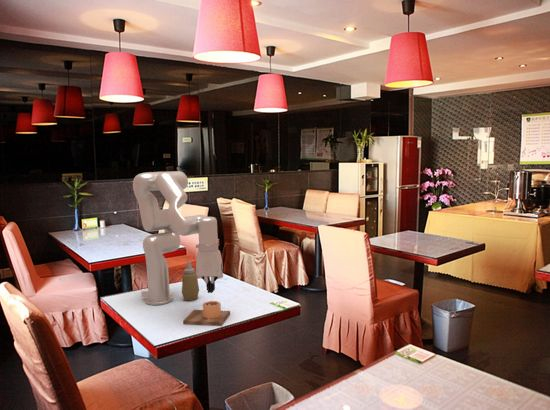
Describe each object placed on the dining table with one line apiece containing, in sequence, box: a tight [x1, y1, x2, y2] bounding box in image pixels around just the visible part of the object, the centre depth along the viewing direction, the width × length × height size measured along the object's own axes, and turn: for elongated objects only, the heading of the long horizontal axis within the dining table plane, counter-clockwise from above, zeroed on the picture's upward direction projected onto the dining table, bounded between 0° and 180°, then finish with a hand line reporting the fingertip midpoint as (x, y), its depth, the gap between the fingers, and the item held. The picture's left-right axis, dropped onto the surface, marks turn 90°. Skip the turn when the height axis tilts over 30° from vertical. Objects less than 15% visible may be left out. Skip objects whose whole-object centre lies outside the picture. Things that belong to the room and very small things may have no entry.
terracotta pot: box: [202, 300, 222, 319], centre depth 170 cm, size 7×7×6 cm
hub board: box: [182, 304, 231, 327], centre depth 170 cm, size 16×12×6 cm
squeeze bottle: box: [181, 260, 200, 302], centre depth 195 cm, size 8×8×18 cm
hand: (210, 291), depth 169 cm, fingers closed
